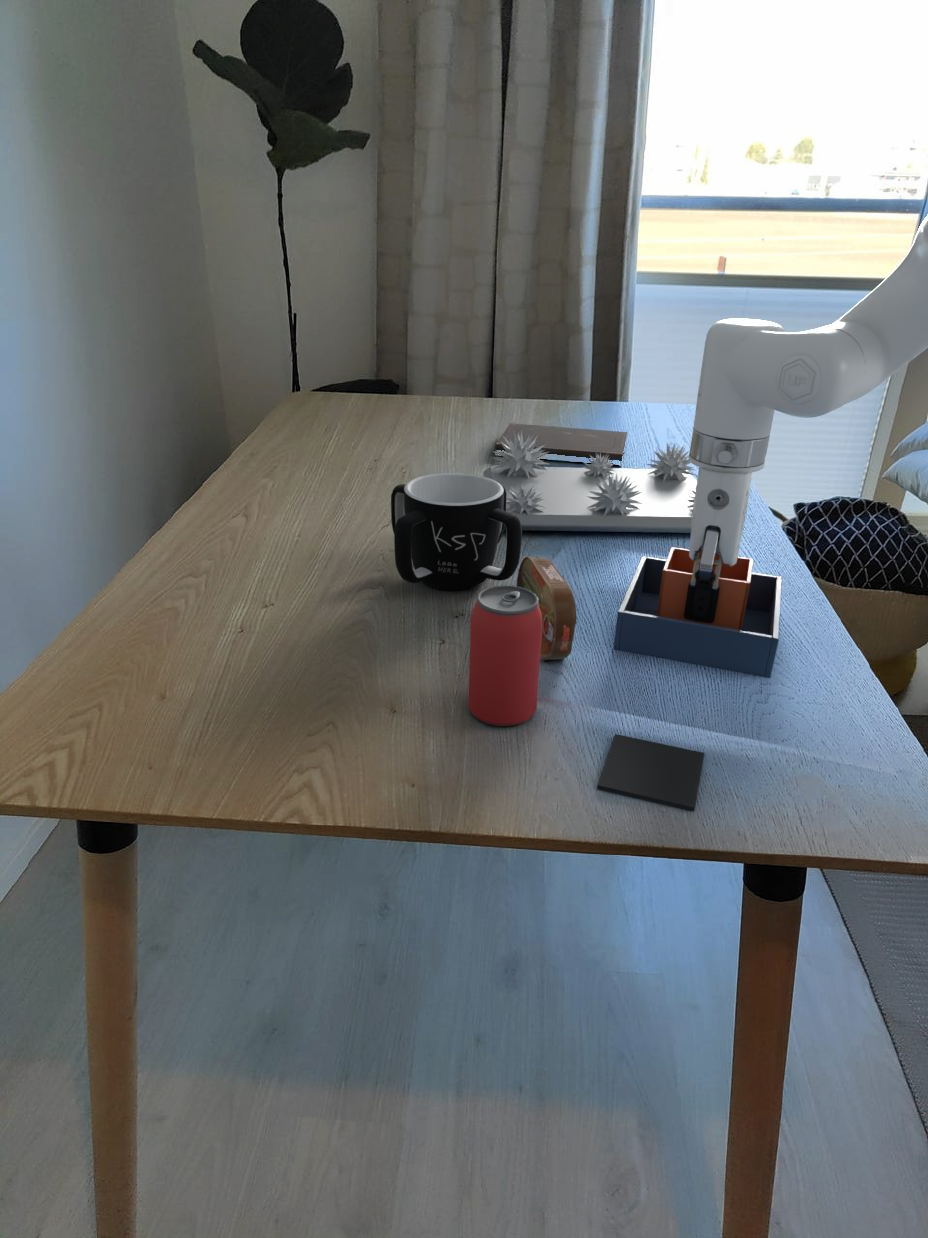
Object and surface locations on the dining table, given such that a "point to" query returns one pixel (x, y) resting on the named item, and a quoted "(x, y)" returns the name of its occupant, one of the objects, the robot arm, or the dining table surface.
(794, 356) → the robot arm
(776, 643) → the box
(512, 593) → the beer can
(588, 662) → the dining table surface
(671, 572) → the small bin
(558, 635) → the tin
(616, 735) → the mat
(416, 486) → the mug
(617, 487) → the decorative tray
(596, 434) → the hardcover book
